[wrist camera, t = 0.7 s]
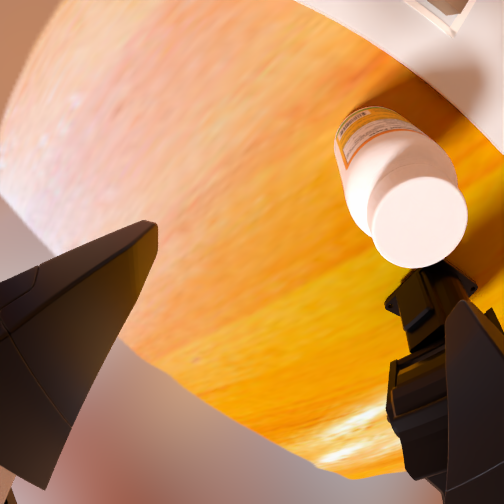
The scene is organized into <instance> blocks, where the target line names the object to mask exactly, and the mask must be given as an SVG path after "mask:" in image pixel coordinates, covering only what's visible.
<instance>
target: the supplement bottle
mask: <svg viewBox="0 0 504 504" xmlns="http://www.w3.org/2000/svg"><path fill="white" fill-rule="evenodd" d="M334 153H335V158H336V162H337V166H338V170H339V174H340V178H341V182H342V186H343V191H344V195H345V199H346V203H347V206H348V208H349V211H350V214H351V216H352V217H353V219H354V221H355V222H356V224H357V225H358V226H359V227H360V228H361V230H363V231H364V232H365V233H366V234H367V235H369V236H370V237H372V238H373V241H374V244H375V246H376V248H377V250H378V251H379V252H380V254H381V255H382V256H383V257H384V258H385V259H387V260H388V261H390V262H391V263H393V264H395V265H398V266H401V267H406V268H422V267H426V266H429V265H432V264H435V263H437V262H439V261H440V260H442V259H444V258H445V257H446V256H448V255H449V254H450V253H451V252H452V251H453V250H454V249H455V247H456V246H457V245H458V244H459V242H460V241H461V239H462V237H463V235H464V232H465V229H466V226H467V219H468V212H467V205H466V202H465V199H464V197H463V195H462V193H461V191H460V190H459V189H458V183H457V176H456V172H455V169H454V166H453V164H452V162H451V160H450V158H449V157H448V155H447V154H446V153H445V151H444V150H443V149H442V148H441V147H440V146H439V145H438V144H437V143H436V142H434V141H433V140H432V139H431V138H429V137H428V136H427V135H426V134H425V133H423V132H422V131H421V130H419V129H418V128H417V127H416V126H414V125H413V124H412V123H410V122H409V121H408V120H407V119H405V118H404V117H403V116H401V115H400V114H398V113H397V112H395V111H393V110H390V109H388V108H384V107H378V106H371V107H365V108H362V109H359V110H357V111H355V112H353V113H352V114H350V115H349V116H348V117H347V118H346V119H345V120H344V121H343V122H342V123H341V125H340V127H339V128H338V130H337V133H336V136H335V141H334Z"/></svg>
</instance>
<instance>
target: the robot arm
mask: <svg viewBox="0 0 504 504" xmlns="http://www.w3.org/2000/svg"><path fill="white" fill-rule="evenodd" d="M157 251H158V226H157V224H156V223H154V222H150V221H146V220H142V221H139V222H137V223H134V224H132V225H129V226H127V227H124V228H122V229H120V230H117V231H115V232H112V233H110V234H107V235H105V236H103V237H100V238H98V239H96V240H93V241H91V242H89V243H86V244H84V245H82V246H79V247H77V248H75V249H73V250H70V251H68V252H66V253H64V254H61V255H59V256H57V257H55V258H52V259H50V260H48V261H46V262H44V263H42V264H40V265H39V266H35V267H33V268H31V269H29V270H27V271H25V272H23V273H20V274H18V275H16V276H14V277H12V278H9V279H7V280H5V281H2V282H0V504H17V502H16V500H15V497H14V494H13V491H12V488H11V485H12V483H13V481H14V479H15V476H16V475H17V476H19V477H20V478H22V479H24V480H26V481H28V482H29V483H31V484H33V485H35V486H37V487H39V488H41V489H43V490H45V489H46V488H47V485H48V483H49V480H50V478H51V475H52V473H53V471H54V468H55V465H56V463H57V461H58V458H59V456H60V454H61V451H62V449H63V447H64V445H65V442H66V440H67V438H68V436H69V433H70V431H71V429H72V428H71V427H72V426H73V424H74V422H75V420H76V418H77V415H78V413H79V411H80V409H81V407H82V404H83V403H84V401H85V399H86V397H87V394H88V392H89V390H90V388H91V386H92V384H93V382H94V380H95V378H96V376H97V374H98V372H99V370H100V368H101V366H102V364H103V363H104V360H105V359H106V357H107V355H108V353H109V351H110V349H111V347H112V345H113V343H114V342H115V340H116V338H117V336H118V334H119V332H120V330H121V329H122V327H123V325H124V323H125V321H126V319H127V318H128V316H129V314H130V312H131V310H132V309H133V307H134V305H135V303H136V301H137V299H138V297H139V295H140V292H141V290H142V288H143V285H144V283H145V281H146V278H147V276H148V274H149V271H150V269H151V267H152V265H153V262H154V260H155V258H156V255H157ZM477 288H478V286H477V284H476V282H475V281H473V280H472V279H471V278H470V277H468V276H467V275H466V274H464V273H463V272H462V271H460V270H459V269H458V268H456V267H455V266H454V265H452V264H451V263H450V262H448V261H447V260H445V259H442V260H440V261H439V262H437V263H435V264H432V265H429V266H426V267H422V268H418V269H417V270H416V271H415V272H414V273H413V274H412V275H411V276H410V277H409V278H408V279H407V280H406V281H405V282H404V283H403V284H402V285H401V286H400V287H399V288H398V289H397V290H396V291H395V292H394V293H393V294H392V295H391V296H390V297H389V298H388V299H387V300H386V301H385V303H384V305H385V309H386V310H388V311H390V312H392V313H394V314H396V315H398V316H400V317H401V321H402V325H403V329H404V331H405V332H406V336H407V341H408V346H409V351H410V353H412V354H410V355H407V356H405V357H403V358H401V359H399V360H397V359H396V360H394V361H392V362H390V372H389V381H388V393H387V402H386V412H387V420H388V422H389V423H391V426H392V428H393V430H394V432H395V434H396V435H397V436H398V437H399V438H400V441H401V444H402V450H403V456H404V464H405V469H406V471H407V472H408V473H409V475H410V476H411V477H412V478H413V479H414V480H416V481H417V480H420V479H424V478H425V479H426V480H427V481H428V482H429V483H430V484H432V485H433V486H434V487H435V488H436V489H437V490H439V491H440V492H441V494H442V500H443V504H504V332H503V330H502V327H501V325H500V323H499V321H498V319H497V317H496V315H495V313H494V311H493V309H492V308H490V309H489V310H487V311H486V313H484V314H483V313H482V312H481V311H480V310H479V309H478V308H477V307H476V306H475V305H474V304H473V303H472V302H471V301H470V299H469V297H470V296H471V295H472V294H473V293H474V292H475V291H476V290H477ZM389 304H391V305H389Z"/></svg>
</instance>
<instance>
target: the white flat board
mask: <svg viewBox="0 0 504 504" xmlns="http://www.w3.org/2000/svg"><path fill="white" fill-rule="evenodd" d="M294 1H296V2H298V3H300V4H302V5H305V6H307V7H309V8H311V9H313V10H315V11H317V12H319V13H321V14H322V15H324V16H326V17H328V18H330V19H332V20H334V21H335V22H337V23H339V24H341V25H343V26H344V27H346V28H348V29H350V30H351V31H353V32H355V33H356V34H358V35H360V36H361V37H363V38H364V39H366V40H368V41H369V42H371V43H372V44H374V45H375V46H377V47H378V48H380V49H381V50H383V51H384V52H386V53H387V54H389V55H390V56H392V57H393V58H395V59H396V60H397V61H399V62H400V63H402V64H403V65H404V66H406V67H407V68H408V69H410V70H411V71H412V72H414V73H415V74H416V75H418V76H419V77H420V78H421V79H423V80H424V81H425V82H426V83H428V84H429V85H430V86H431V87H433V88H434V89H435V90H436V91H437V92H439V93H440V94H441V95H442V96H443V97H444V98H446V99H447V100H448V101H449V102H450V103H451V104H452V105H454V106H455V107H456V108H457V109H458V110H459V111H460V112H461V113H462V114H463V115H464V116H465V117H467V118H468V119H469V120H470V121H471V122H472V123H473V124H474V125H475V126H476V127H477V128H478V129H479V130H480V131H481V132H482V133H483V134H484V135H485V136H486V137H487V138H488V139H489V141H490V142H491V143H492V144H493V145H494V146H495V147H496V148H497V149H498V150H499V151H500V152H501V153H502V154H503V155H504V0H469V1H468V2H467V4H466V6H465V7H464V9H463V11H462V12H461V14H455V15H448V16H446V15H445V14H444V13H442V12H441V11H440V10H439V9H437V8H436V7H435V6H433V5H432V4H431V3H430V2H428V1H427V0H294Z"/></svg>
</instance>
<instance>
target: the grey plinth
mask: <svg viewBox="0 0 504 504" xmlns="http://www.w3.org/2000/svg"><path fill="white" fill-rule="evenodd" d="M427 1H428V2H430V3H431V4H432V5H433V6H435V7H436V8H437V9H439V10H440V11H441V12H442V13H444V14H445V15H446V16H448V15H455V14H461V12H462V11H463V9H464V7H465V6H466V4H467V2H468V1H469V0H427Z"/></svg>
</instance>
